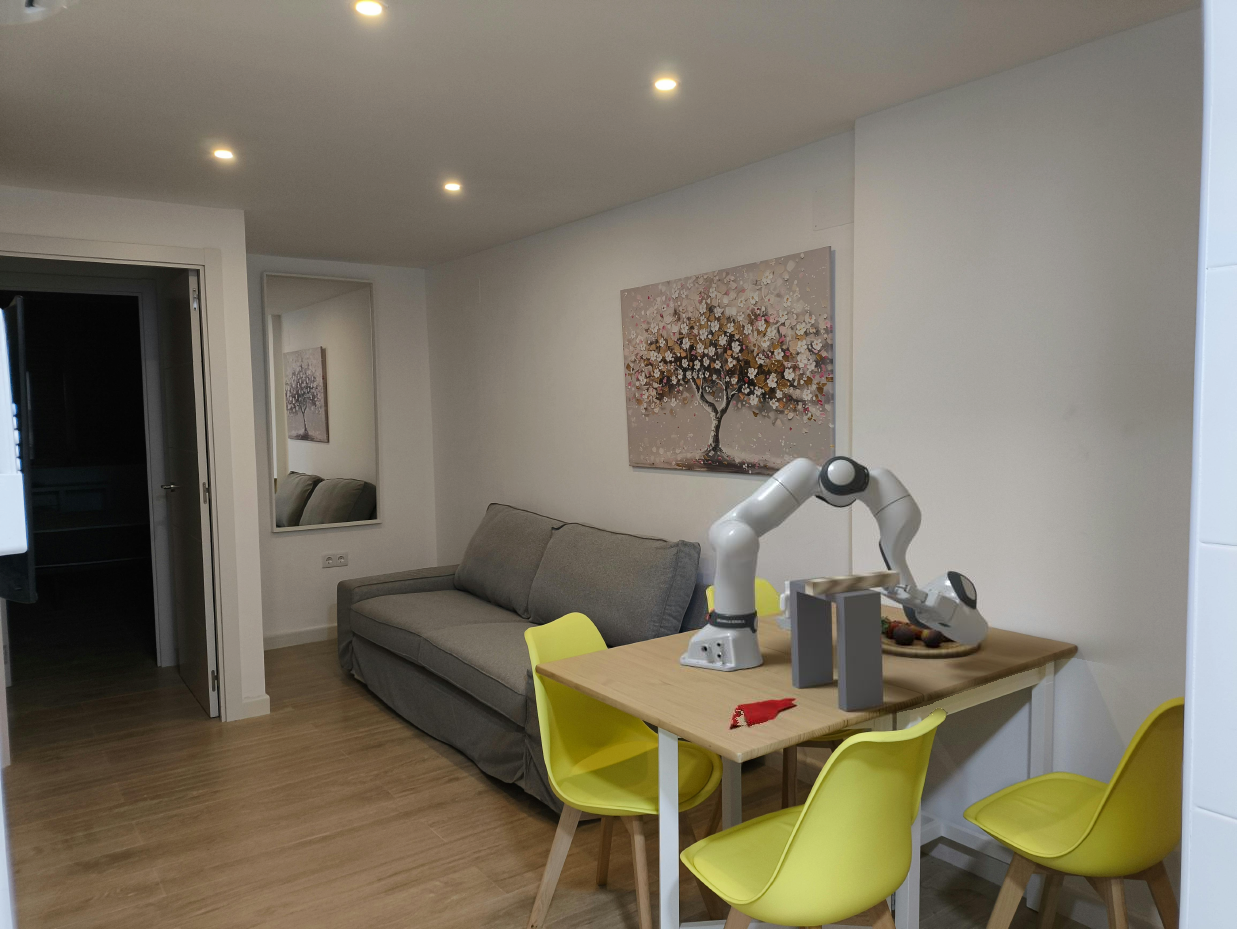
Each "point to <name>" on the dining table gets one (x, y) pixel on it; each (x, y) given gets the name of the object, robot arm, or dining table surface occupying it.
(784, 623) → the figurine
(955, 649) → the wooden plate with food
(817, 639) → the grey arch
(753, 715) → the cloth
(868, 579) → the maple bar
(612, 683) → the dining table surface
